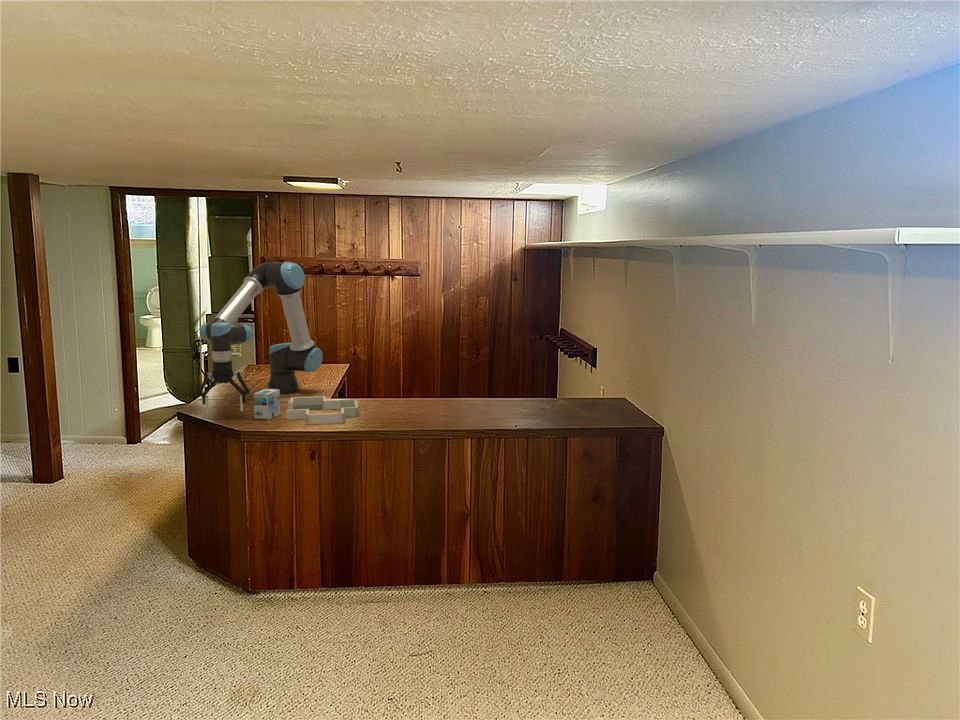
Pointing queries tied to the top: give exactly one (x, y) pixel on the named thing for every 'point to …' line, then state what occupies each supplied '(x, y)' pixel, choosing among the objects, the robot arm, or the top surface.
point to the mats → (309, 407)
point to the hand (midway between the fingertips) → (224, 411)
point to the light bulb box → (267, 403)
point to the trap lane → (346, 406)
